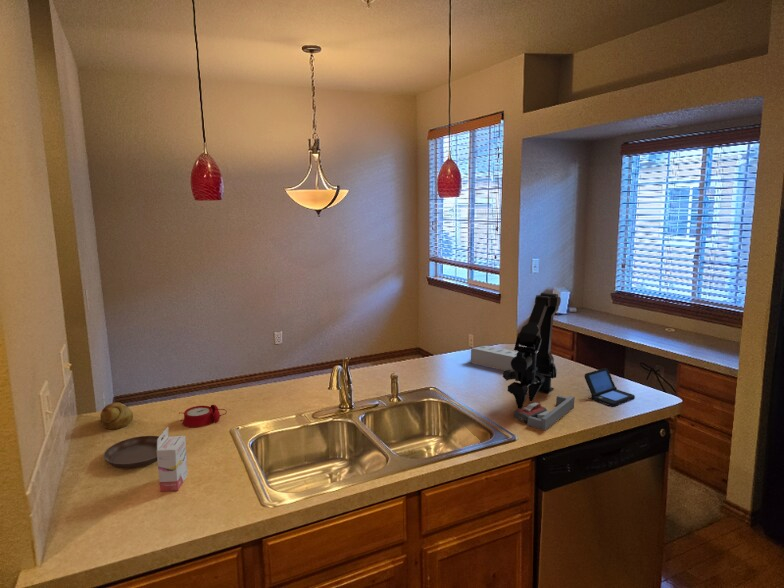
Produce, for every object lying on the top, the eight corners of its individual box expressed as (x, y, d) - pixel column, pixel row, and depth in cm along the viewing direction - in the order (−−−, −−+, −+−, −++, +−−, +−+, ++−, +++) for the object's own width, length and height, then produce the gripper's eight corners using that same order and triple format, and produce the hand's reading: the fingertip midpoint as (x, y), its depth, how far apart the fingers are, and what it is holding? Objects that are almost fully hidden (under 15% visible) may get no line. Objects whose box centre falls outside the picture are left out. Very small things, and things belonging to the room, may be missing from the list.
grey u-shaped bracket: (557, 402, 193) (558, 392, 192) (574, 406, 189) (574, 396, 188) (527, 425, 173) (528, 414, 172) (544, 430, 169) (545, 419, 169)
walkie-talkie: (530, 427, 172) (564, 412, 185) (531, 415, 172) (565, 401, 184) (510, 419, 179) (544, 405, 191) (510, 407, 178) (544, 394, 191)
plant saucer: (159, 438, 164) (158, 429, 164) (179, 459, 151) (178, 449, 151) (98, 456, 153) (97, 447, 152) (113, 480, 140) (112, 470, 139)
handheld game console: (612, 407, 189) (614, 384, 187) (581, 396, 200) (583, 374, 198) (636, 398, 197) (638, 375, 196) (605, 388, 208) (606, 366, 207)
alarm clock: (177, 409, 178) (220, 393, 184) (182, 425, 180) (225, 408, 185) (179, 421, 169) (224, 403, 174) (185, 437, 170) (230, 419, 176)
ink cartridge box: (178, 491, 134) (174, 439, 131) (159, 492, 134) (154, 440, 131) (188, 474, 143) (185, 425, 140) (170, 475, 142) (166, 425, 139)
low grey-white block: (544, 369, 232) (544, 353, 231) (530, 377, 221) (531, 360, 220) (485, 356, 251) (486, 341, 250) (470, 363, 240) (471, 348, 239)
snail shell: (99, 420, 177) (96, 398, 176) (129, 413, 183) (127, 392, 181) (103, 434, 167) (100, 411, 166) (135, 426, 173) (133, 404, 171)
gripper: (518, 354, 196) (516, 392, 199) (495, 366, 182) (493, 407, 185) (546, 360, 189) (543, 399, 192) (524, 373, 175) (521, 415, 178)
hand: (525, 405), depth 187 cm, fingers open, 9 cm apart
